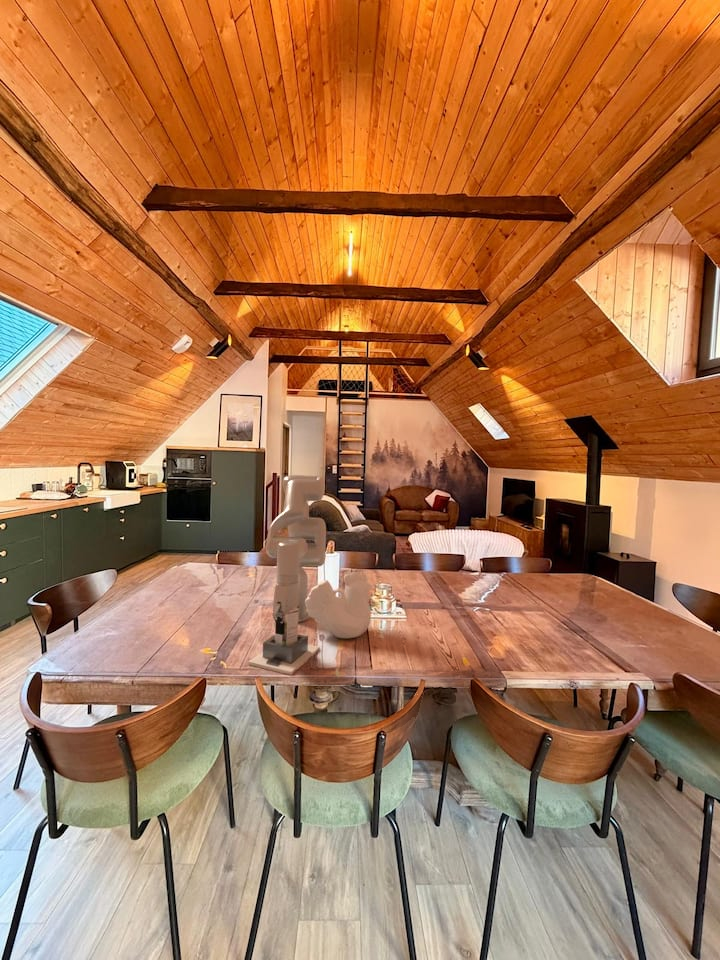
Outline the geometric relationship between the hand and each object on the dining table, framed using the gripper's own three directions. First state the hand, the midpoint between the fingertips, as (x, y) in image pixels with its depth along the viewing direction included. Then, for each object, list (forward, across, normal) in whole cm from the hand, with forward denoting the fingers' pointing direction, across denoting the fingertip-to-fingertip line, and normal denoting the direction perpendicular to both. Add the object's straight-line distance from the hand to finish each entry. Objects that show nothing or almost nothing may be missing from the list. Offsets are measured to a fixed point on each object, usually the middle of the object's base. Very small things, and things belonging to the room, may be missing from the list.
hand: (286, 629), depth 149 cm
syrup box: (+7, 0, 0) cm, 7 cm away
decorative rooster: (+10, -26, +8) cm, 29 cm away
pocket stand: (+10, 0, 0) cm, 10 cm away
